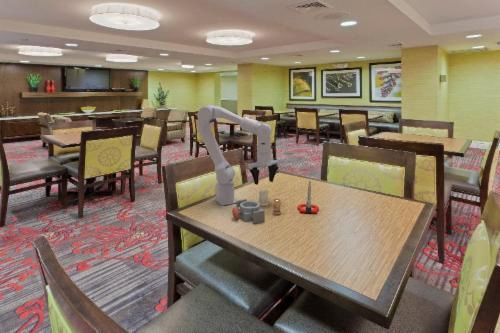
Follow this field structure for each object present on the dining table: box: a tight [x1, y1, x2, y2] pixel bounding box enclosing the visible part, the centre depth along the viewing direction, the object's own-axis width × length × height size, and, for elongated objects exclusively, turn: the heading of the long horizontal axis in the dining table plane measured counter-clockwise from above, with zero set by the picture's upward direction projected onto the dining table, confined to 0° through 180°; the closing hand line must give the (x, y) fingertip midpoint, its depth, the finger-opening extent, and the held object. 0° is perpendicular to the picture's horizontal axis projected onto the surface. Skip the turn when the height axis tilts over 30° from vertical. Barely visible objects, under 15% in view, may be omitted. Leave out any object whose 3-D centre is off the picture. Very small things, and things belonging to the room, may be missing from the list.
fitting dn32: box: [272, 198, 282, 216], centre depth 133 cm, size 3×3×6 cm
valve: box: [231, 198, 266, 225], centre depth 129 cm, size 15×11×5 cm
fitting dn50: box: [257, 189, 270, 207], centre depth 143 cm, size 5×5×6 cm
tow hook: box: [296, 180, 320, 215], centre depth 136 cm, size 9×14×10 cm
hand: (263, 182), depth 142 cm, fingers open, 7 cm apart
